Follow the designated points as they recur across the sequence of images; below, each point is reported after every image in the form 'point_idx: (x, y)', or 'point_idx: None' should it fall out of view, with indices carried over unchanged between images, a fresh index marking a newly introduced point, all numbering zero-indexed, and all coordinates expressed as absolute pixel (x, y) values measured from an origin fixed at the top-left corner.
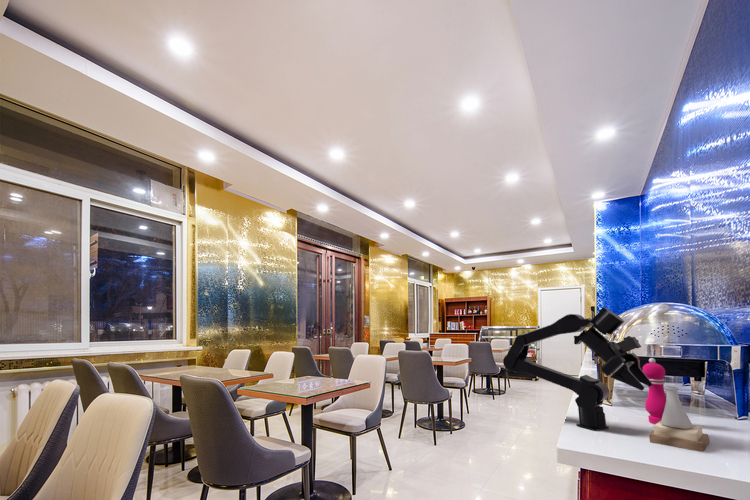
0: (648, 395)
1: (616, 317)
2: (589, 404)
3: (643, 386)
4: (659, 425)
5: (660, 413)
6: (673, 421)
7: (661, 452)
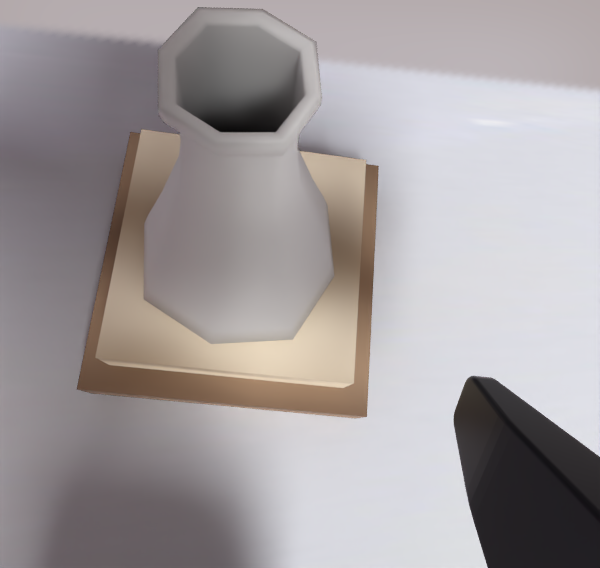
0: None
1: None
2: None
3: (488, 386)
4: (299, 348)
5: None
6: (327, 247)
7: (522, 347)
